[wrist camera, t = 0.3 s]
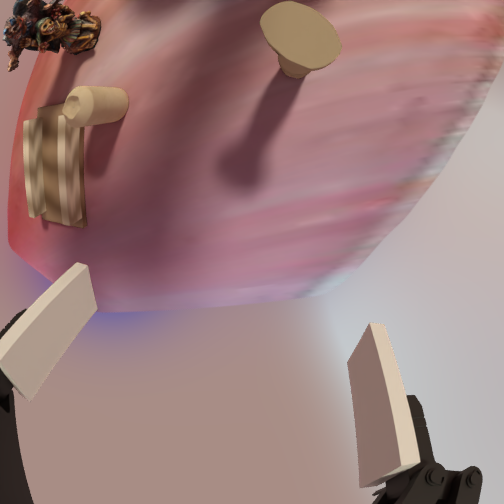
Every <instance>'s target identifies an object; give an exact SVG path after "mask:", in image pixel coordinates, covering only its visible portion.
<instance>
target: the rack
mask: <svg viewBox="0 0 504 504" xmlns="http://www.w3.org/2000/svg"><path fill="white" fill-rule="evenodd" d="M63 107H64V104H57V105H51V106H45V107H40V108H38V114H37V119H32V120H27V121H24V127H23V152H24V173H25V185H26V195H27V203H28V210H29V217H33V218H35V217H37V216H39V215H40V214H42V219H44V220H48V221H53V222H57V223H61V224H63V225H67V226H74V227H79V228H85V227H86V226H87V220H86V209H85V194H84V161H83V156H84V127H79V128H73V127H71V126H70V125H68V123H67V122H66V120H65V117H64V114H63V113H62V110H63Z"/></svg>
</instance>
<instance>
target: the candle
mask: <svg viewBox="0 0 504 504" xmlns="http://www.w3.org/2000/svg"><path fill="white" fill-rule="evenodd" d="M128 105H129V99H128V95H127V93H126V92H125V91H124V90H123V89H121V88H116V87H100V86H79V87H76V88H74V89H73V90H72V91H71V92H70V93H69V95H68V96H67V98H66V101H65V103H64V107H63V110H62V113H63V114H64V117H65V120H66V122H67V123H68V125H70V126H71V127H73V128H79V127H85V126H91V125H98V124H104V123H111V122H116V121H118V120H120V119H121V118H122V117H123V116H124V115H125V113H126V112H127V109H128Z"/></svg>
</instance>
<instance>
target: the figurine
mask: <svg viewBox="0 0 504 504" xmlns="http://www.w3.org/2000/svg"><path fill="white" fill-rule="evenodd" d="M59 1H61V0H52V1H51V2H50V3H49V4H47V3H45V2H44V1H42V0H17V1H16V2H15V5H14V8H13V15H14V16H12V17H10V18H9V19H8V20H7V21H6V23H5V29H4V37H3V40H4V41H6V42H7V46H11V45H12V49H11V51H9V52H8V56H9V57H10V59H11V61H10V62H9V65H8V68H7V70H8V72H10V71H12V70H15V68H17V67H18V63H19V61H18V58H19V56H20V55H21V52H22V50H23V49H24V48H25V49H28V50H34V51H39V50H40V51H39V52H40V53H45V51H46V50H47V51H52V52H54V53H59V49H60V43H61V47H63V49H66V51H67V52H69V53H70V54H72V53H73V54H74V55H77V54H79V53H81V52H83V51H88V50H90V49H93V48H94V47H95V45H96V43H97V42H98V37H99V34H100V31H101V21H100V19H99V18H98V17H97V16H90V14H91V12H90V11H88V12H81V13H80V15H78V16H76V17H75V18H73V17H74V16H75V14H74V13H75V12H73V11H72V10H71V9H69V7H68V6H65V5H62V4H59V3H58V2H59ZM64 47H65V48H64Z"/></svg>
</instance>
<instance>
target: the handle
mask: <svg viewBox="0 0 504 504" xmlns="http://www.w3.org/2000/svg"><path fill="white" fill-rule="evenodd" d="M260 26H261V28H262V31H263V33H264V36H265V38H266V40H267V42H268V44H269V46H270V47H271V48H272V49H273V50H274V51H275V52H276V53H277V54H278V61H279V65H280V67H281V69H282V70H283V72H284V74H285V75H287V76H290V77H294V78H297V79H300V78H302V77H304V76H306V75H307V74H309V73H310V72H311V71H315V70H319V69H322V68H324V67H326V66H328V65H329V64H331V63H332V62H333V61H334V60H335V59H336V58H337V57H338V55H339V54H340V52H341V49H342V45H341V42H340V39H339V37H338V34H337V32H336V30H335V28H334V27H333V25H332V24H331V23H330V22H329V21H328V20H327V19H326V18H325V17H323V16H322V15H321V14H320V13H319V12H317V11H316V10H315V9H313V8H311V7H308V6H306V5H303V4H300V3H297V2H294V1H285V2H280V3H278V4H275V5H274V6H272V7H270V8H269V9H268V10H267V11H266V12H265V13H264V14H263V15H262V17H261V20H260Z"/></svg>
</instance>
